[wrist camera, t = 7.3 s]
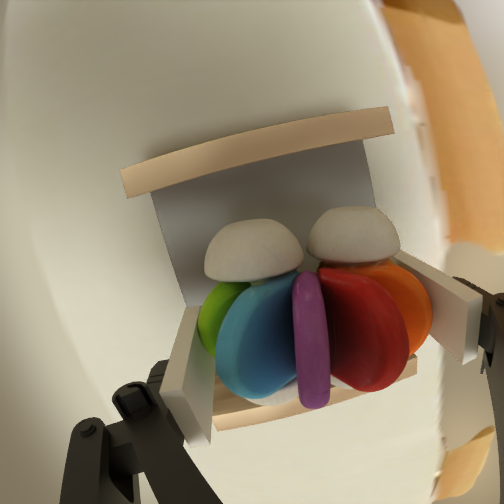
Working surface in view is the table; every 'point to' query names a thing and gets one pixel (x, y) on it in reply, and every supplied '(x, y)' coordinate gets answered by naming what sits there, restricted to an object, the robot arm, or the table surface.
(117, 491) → the robot arm
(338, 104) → the table surface
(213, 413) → the bay
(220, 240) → the rainbow petal toy
